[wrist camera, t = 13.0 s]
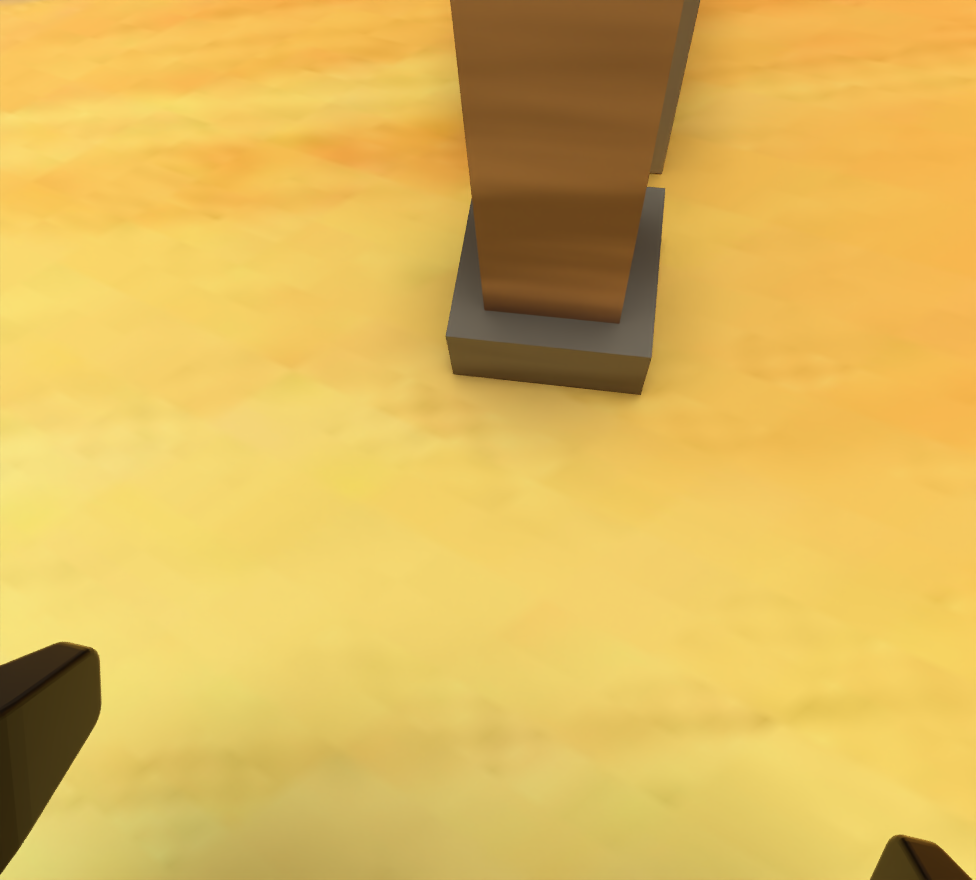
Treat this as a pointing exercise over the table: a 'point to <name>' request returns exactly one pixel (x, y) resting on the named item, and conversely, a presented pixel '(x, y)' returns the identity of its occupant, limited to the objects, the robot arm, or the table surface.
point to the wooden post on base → (560, 189)
